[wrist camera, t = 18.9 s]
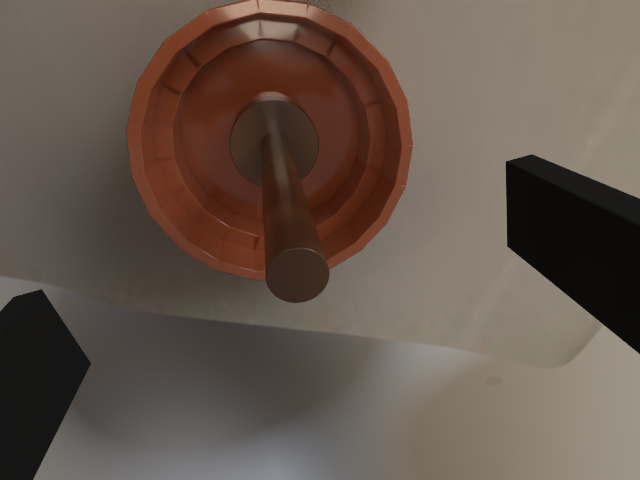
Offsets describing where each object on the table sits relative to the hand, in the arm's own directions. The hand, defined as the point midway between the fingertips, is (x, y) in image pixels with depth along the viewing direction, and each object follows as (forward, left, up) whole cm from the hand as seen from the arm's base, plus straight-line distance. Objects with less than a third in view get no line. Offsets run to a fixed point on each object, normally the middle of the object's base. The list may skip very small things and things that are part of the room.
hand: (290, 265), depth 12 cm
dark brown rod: (0, 0, -18) cm, 18 cm away
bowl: (0, 0, -19) cm, 19 cm away
